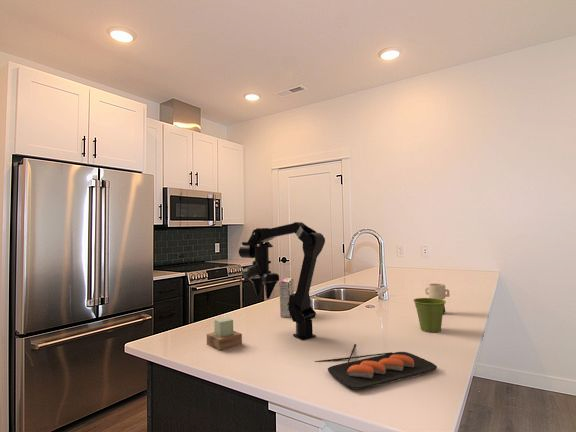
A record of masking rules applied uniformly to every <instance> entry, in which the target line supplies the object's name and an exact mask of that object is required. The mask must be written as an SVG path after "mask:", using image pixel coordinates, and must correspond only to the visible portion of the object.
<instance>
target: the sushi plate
mask: <svg viewBox="0 0 576 432" xmlns="http://www.w3.org/2000/svg"><path fill="white" fill-rule="evenodd" d="M356 345H357V344H356V343H354V345H353V347H352V350H351V353H350V356H347V357H340V358H339V357H338V358H331V359H321V360H315V361H313V362H314V363H324V362H327V363H328V362H337V361H345V360H348V361H347V362H343V363H340V364H339V363H338V364H335V365H331V366H329V367H328V368H327V372H328V373H329V374H330V375H331V376H333V377H334V378H335V379H337V381H339V382H340V383H342V384H343V385H345V386H347V388H351V389H353V390H361V389H366V388H372V387H375V386H379V385H382V384H387V383H390V382H394V381H398V380H403V379H406V378H410V377H414V376H418V375H421V374H426V373H430V372H433V371H435V370H437V368H438V367H437V365H436V364H435V363H433V362H431V361H428V360H426V359H425V358H423V357H420V356H418V355H416V354H413V353H411V352H407V351H396V352H393V351H391V352H382V353H381V352H380V353H376V354H375V353H374V354H365V355H357V356H356V355H355V356H353V354H354V352H355V349H356ZM359 358H362V359H359ZM353 359H357V360H354V361H353ZM351 360H352V361H351Z"/></svg>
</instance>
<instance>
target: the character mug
mask: <svg viewBox="0 0 576 432" xmlns="http://www.w3.org/2000/svg"><path fill="white" fill-rule="evenodd" d="M427 285H428V286H426V287H425V288H424V290H425V295H428V298H435V299H441V300H445V299H446V298H448V297H450V296H451V294H450V289H447V288H446V285H445V284H444V283H429V284H427ZM443 313H446V307H445V305H444V309H443Z"/></svg>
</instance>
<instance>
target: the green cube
mask: <svg viewBox="0 0 576 432" xmlns="http://www.w3.org/2000/svg"><path fill="white" fill-rule="evenodd" d="M213 323H214V332H215V334H216V335H218V336H219V337H222V336H227V335H232V334H233V331H234V319H232V318H231V317H228V316H227V317H226V316H225V317H222V318H221V317H220V318H215V319H214V322H213Z"/></svg>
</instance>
